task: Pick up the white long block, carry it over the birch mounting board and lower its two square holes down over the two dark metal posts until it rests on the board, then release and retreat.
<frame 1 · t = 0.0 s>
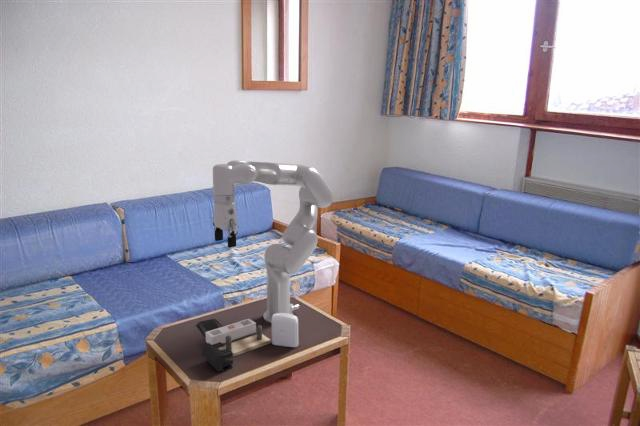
hand: (225, 243, 185), 37 cm above the table, tool pointing down, fingers open, 9 cm apart
white long block: (231, 336, 192), on the table
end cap: (217, 366, 172), on the table
photo printer: (284, 344, 187), on the table
board: (244, 346, 185), on the table
phone: (212, 330, 198), on the table
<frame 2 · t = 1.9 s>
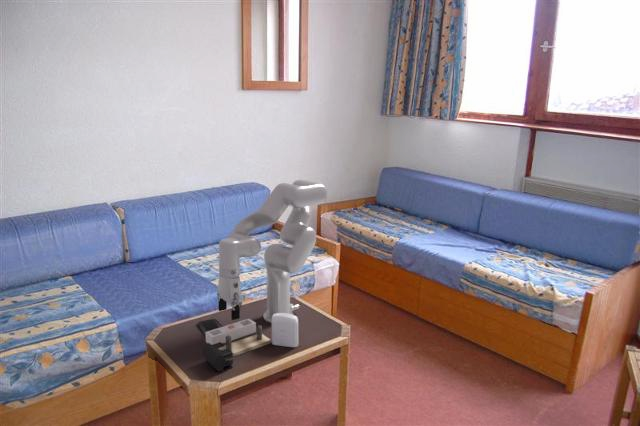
hand: (228, 314, 189), 10 cm above the table, tool pointing down, fingers open, 9 cm apart
nothing on the table moved.
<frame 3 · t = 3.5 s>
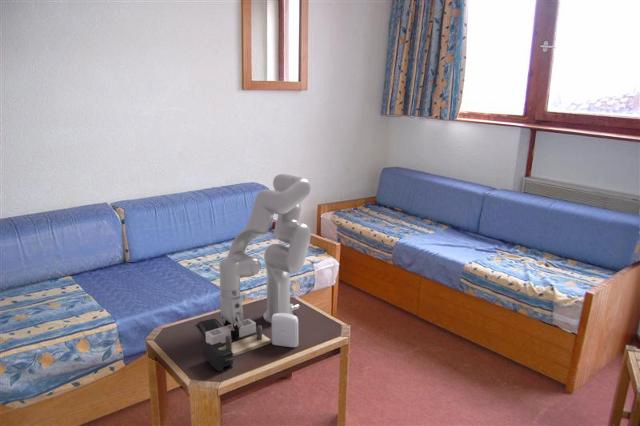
hand: (231, 335, 192), 1 cm above the table, tool pointing down, fingers closed on white long block, 5 cm apart
white long block: (231, 336, 192), on the table, touching gripper
everything else where it was.
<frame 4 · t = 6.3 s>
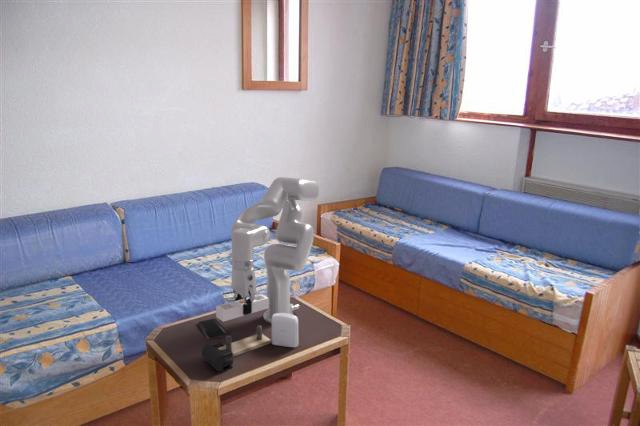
hand: (243, 310, 181), 15 cm above the table, tool pointing down, fingers closed on white long block, 5 cm apart
white long block: (243, 312, 181), point 14 cm above the table, touching gripper
everything else where it was.
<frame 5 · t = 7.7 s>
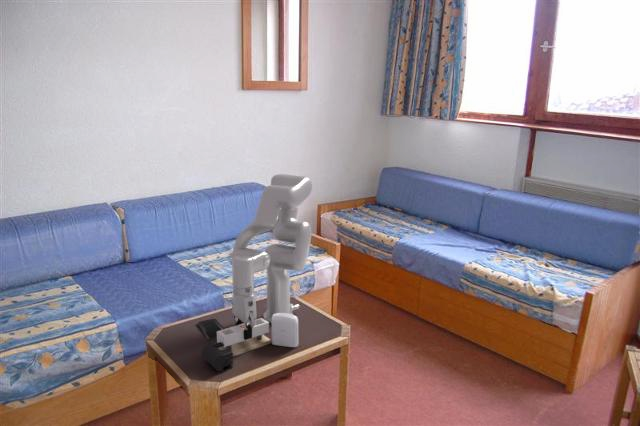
hand: (243, 335, 183), 5 cm above the table, tool pointing down, fingers closed on white long block, 5 cm apart
white long block: (243, 336, 183), point 4 cm above the table, touching gripper
everything else where it was.
when the fingers open (3 cm above the table, at t = 8.8 s): white long block drops 1 cm, resting on board.
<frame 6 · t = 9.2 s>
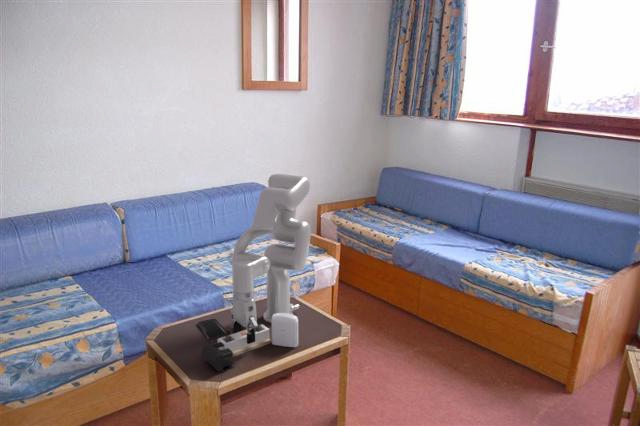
hand: (244, 337, 184), 4 cm above the table, tool pointing down, fingers open, 9 cm apart
white long block: (244, 343, 185), point 1 cm above the table, touching board
everything else where it was.
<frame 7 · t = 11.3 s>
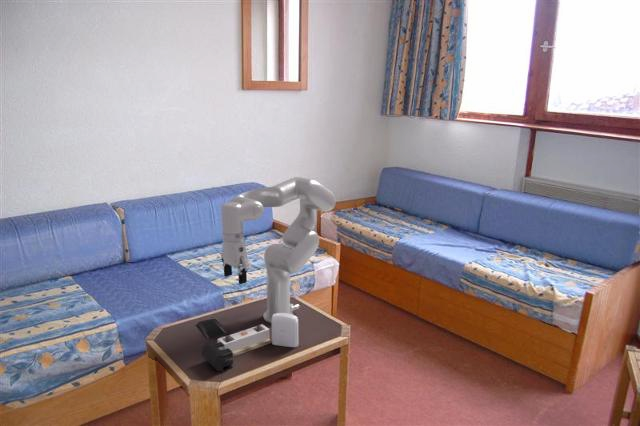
hand: (235, 279, 188), 23 cm above the table, tool pointing down, fingers open, 9 cm apart
nothing on the table moved.
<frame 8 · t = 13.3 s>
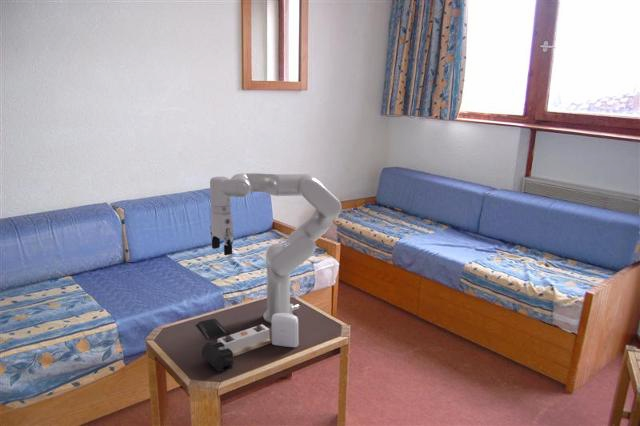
hand: (222, 251, 197), 30 cm above the table, tool pointing down, fingers open, 9 cm apart
nothing on the table moved.
at the end: white long block 0.1 cm off-centre on the board, point 1.2 cm above the board's base; white long block tilted 0°; the gripper is holding nothing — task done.
